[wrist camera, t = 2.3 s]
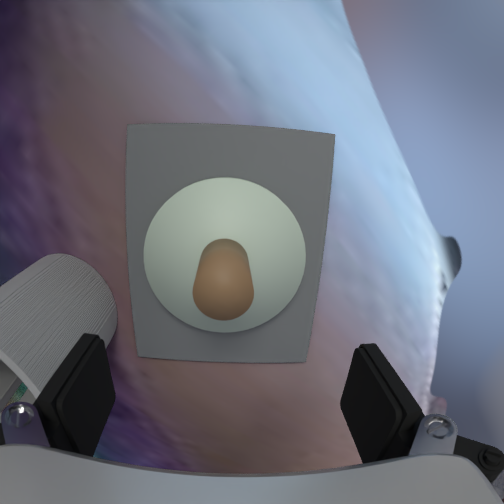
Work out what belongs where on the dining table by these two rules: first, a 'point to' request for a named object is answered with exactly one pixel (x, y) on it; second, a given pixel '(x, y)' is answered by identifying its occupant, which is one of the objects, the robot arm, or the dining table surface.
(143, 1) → the dining table surface
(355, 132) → the dining table surface
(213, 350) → the mat
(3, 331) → the cup
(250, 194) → the lid
